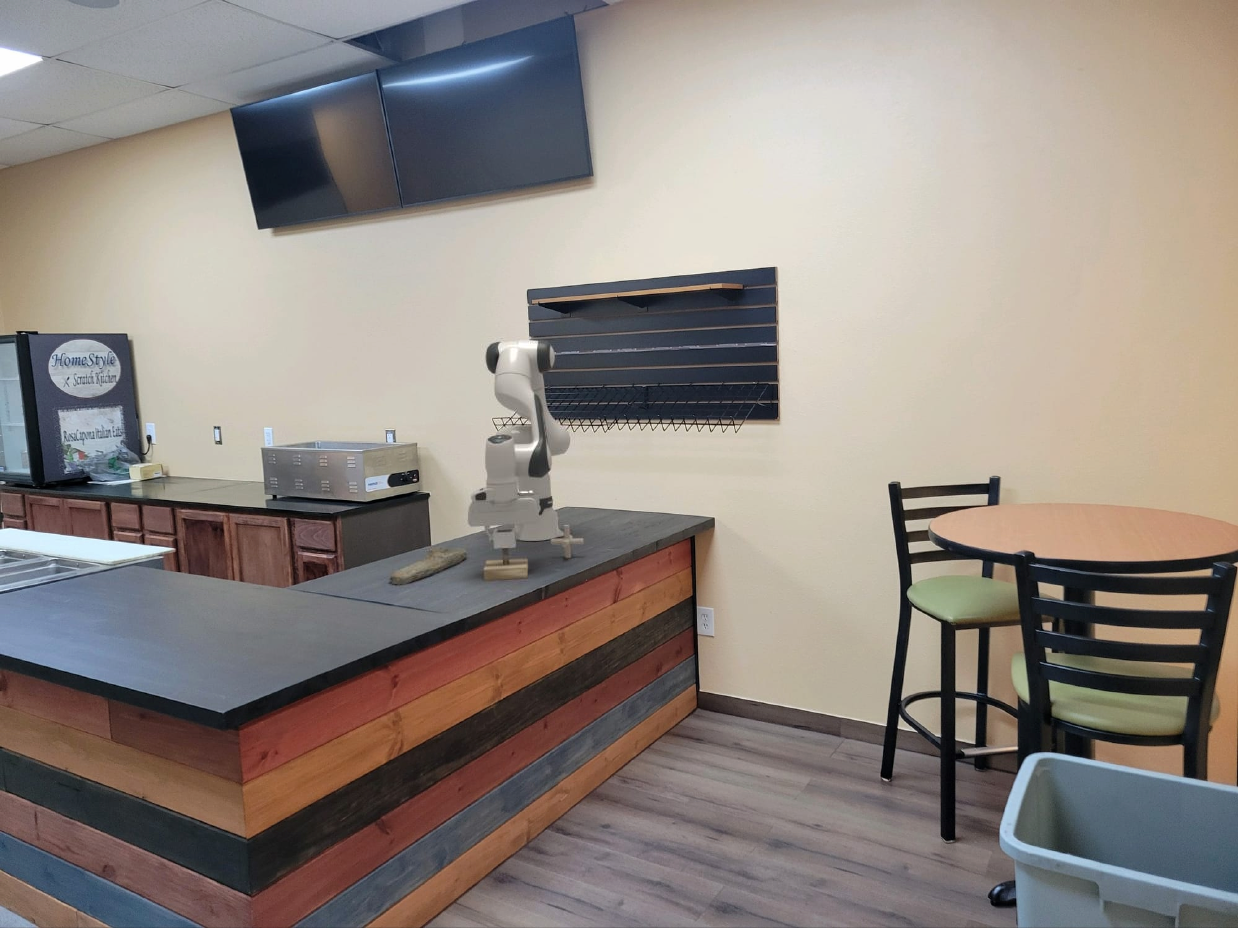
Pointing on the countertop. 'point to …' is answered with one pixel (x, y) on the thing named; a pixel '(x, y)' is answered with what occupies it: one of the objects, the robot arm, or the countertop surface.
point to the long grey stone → (428, 565)
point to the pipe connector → (567, 541)
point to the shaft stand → (506, 567)
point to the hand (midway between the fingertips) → (504, 540)
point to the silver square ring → (504, 538)
